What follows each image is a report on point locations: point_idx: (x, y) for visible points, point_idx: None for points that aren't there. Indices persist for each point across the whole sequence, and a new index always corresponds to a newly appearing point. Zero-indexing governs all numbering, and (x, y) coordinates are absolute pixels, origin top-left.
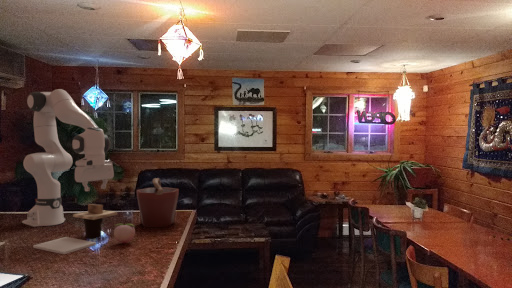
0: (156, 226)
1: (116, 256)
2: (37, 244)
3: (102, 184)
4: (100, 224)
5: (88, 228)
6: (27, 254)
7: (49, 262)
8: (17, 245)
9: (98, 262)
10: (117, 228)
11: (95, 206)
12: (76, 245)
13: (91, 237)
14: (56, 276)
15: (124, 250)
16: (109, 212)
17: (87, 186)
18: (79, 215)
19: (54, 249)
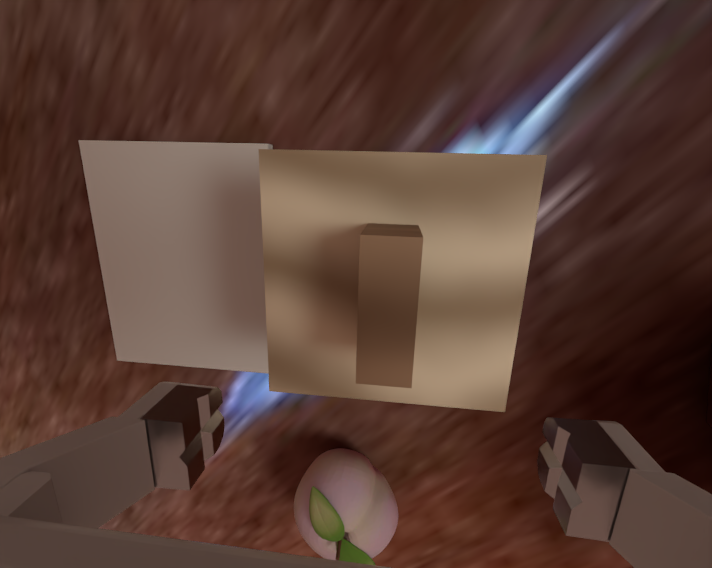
0: (709, 424)
1: (220, 525)
2: (99, 144)
3: (641, 482)
4: None
5: None
6: (33, 220)
7: (50, 381)
8: (55, 12)
9: (149, 513)
10: (299, 519)
11: (357, 342)
12: (198, 333)
13: None
14: None
15: (283, 511)
16: (459, 373)
17: (118, 505)
18: (263, 237)
19: (110, 297)
